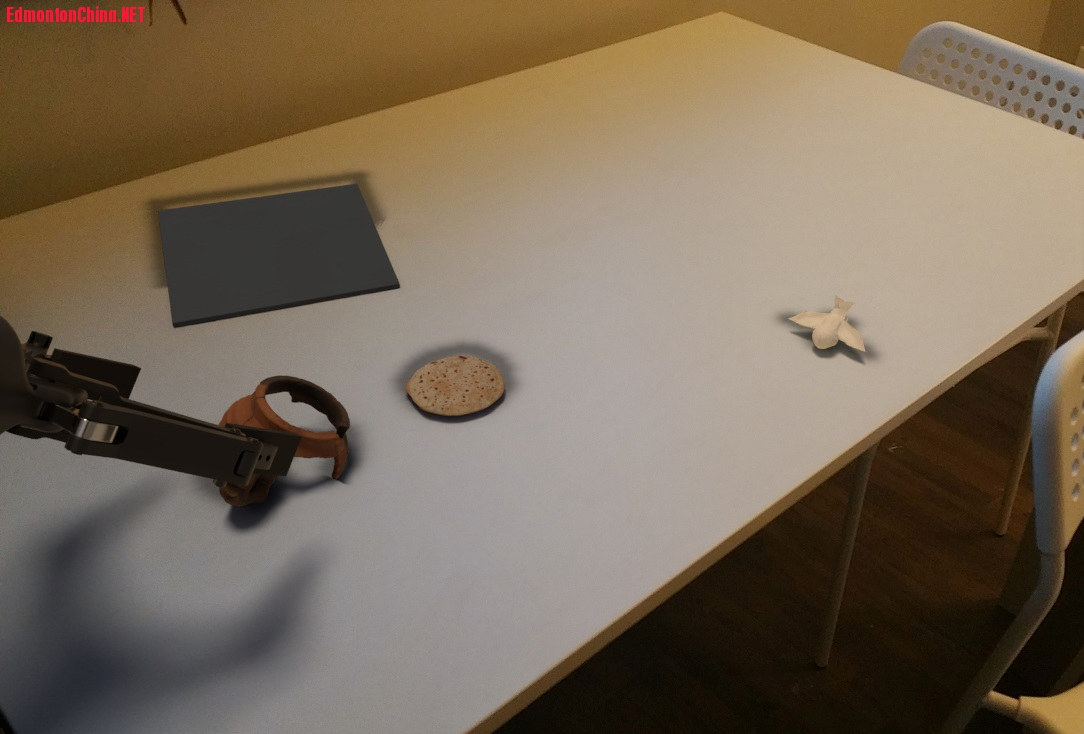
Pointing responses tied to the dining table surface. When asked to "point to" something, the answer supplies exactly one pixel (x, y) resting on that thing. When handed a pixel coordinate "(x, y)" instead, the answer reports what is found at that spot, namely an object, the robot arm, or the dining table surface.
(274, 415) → the broken brown clay pot
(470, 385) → the flatbread
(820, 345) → the white bird figurine
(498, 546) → the dining table surface
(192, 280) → the placemat
